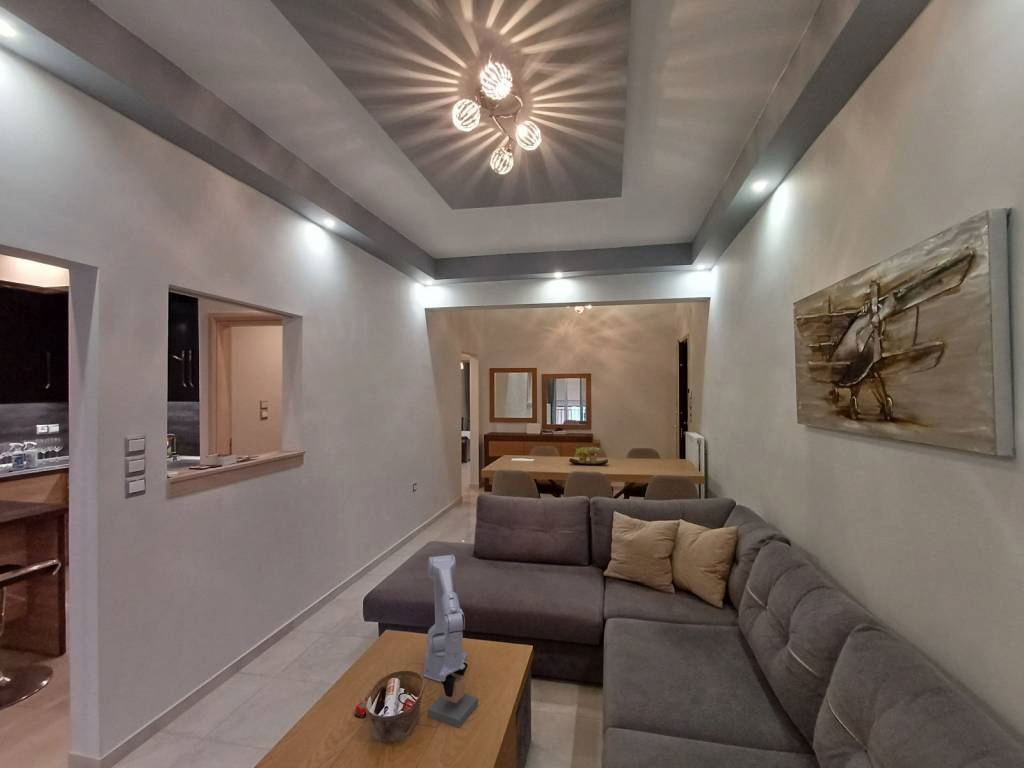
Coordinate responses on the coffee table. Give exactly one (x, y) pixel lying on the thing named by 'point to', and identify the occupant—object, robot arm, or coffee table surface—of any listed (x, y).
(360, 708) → the race car
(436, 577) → the robot arm
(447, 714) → the charcoal flat pad
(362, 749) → the coffee table surface
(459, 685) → the terracotta block
